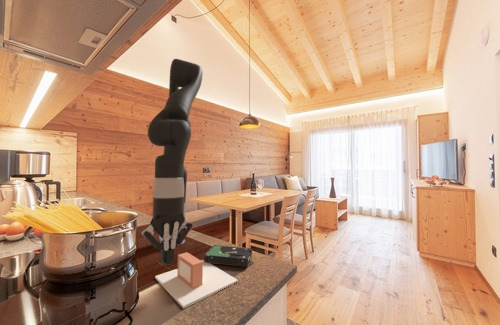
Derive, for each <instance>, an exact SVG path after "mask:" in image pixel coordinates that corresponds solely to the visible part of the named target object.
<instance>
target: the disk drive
mask: <svg viewBox="0 0 500 325" xmlns="http://www.w3.org/2000/svg"><path fill="white" fill-rule="evenodd" d="M252 255H253V248H250V247H239V246H228V245H227V246H226V245H217V244H216V245H215V244H214V245H213V246H212V247H211V248H209V251H207V252H206V253H204V256H203V260H204V262H206V263H210V264H216V265H217V264H218V265H226V266H227V265H228V266H238V267H248V265H249V263H250V260H251V258H252Z"/></svg>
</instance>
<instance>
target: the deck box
mask: <svg viewBox="0 0 500 325" xmlns="http://www.w3.org/2000/svg"><path fill="white" fill-rule="evenodd" d="M177 269H178V274H177V276H178V277H179V278H180V279H182V280H183V281H184V282H185V283H186V284H187V285H189V286H190V287H191V288H192V289H194V288H196V287H199V286H201V285H202V277H203V262H202V260H201V259H199V258H197V257H195V256H194V255H192V254H191V253H189V252H187V251H186V252H183V253H179V254H177Z"/></svg>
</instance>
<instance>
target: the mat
mask: <svg viewBox="0 0 500 325" xmlns="http://www.w3.org/2000/svg"><path fill="white" fill-rule="evenodd" d="M201 261H202V262H203V277H202V285H201V286H199V287H196V288H194V289H192V288H191V287H190V286H189V285H187V284H186V283H185V282H184V281H183V280H182V279H180V278H179V277H178V276H177V274H178V268H175V269H173V270H170V271H167V272H163V273H161V274H157V275H155V277H154V278H155V280H156V281H157V282H158V283H159V284H160V285H161V286H162V287H163V288H164V289H165V290H166V291H167V293H168V294H169V295H170V296H171V298H173V299H174V300H175V302H177V304H178V305H179V306H180V307H182V309H183V310H184V309H186V308H188V307H190V306H192V305H193V304H194V305H195V304H196V303H199V302H200V301H202V300H205V299H206V298H208V297H210V296H212V295H215V294H216V293H219V292H221V291H223V290H225V289H226V287H227V288H229V287H231V286H233V285H235V284H237V283H239V280H238V279H237V278H236V277H234V276H232V275H230V274H228V273H227V272H225V271H223V270H222V269H221V268H218V267H217V266H215V265H214V264H213V263H206V262H204V259H202V260H201ZM236 282H237V283H236ZM234 283H235V284H234ZM230 285H231V286H230ZM228 286H229V287H228ZM224 288H225V289H224ZM222 289H223V290H222ZM220 290H221V291H220ZM218 291H219V292H218Z"/></svg>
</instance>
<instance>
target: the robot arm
mask: <svg viewBox="0 0 500 325" xmlns="http://www.w3.org/2000/svg"><path fill="white" fill-rule="evenodd" d="M169 68H170V69H169V70H170V71H169V84H168V86H169V88H168V90H169V92H168V98H167V100H166V103H165V106H164V108H163V109H162V110H160V111H159V112H158V113H157V114H156V115H155V116H154V117H153V119H152V120H151V121H150V122H149V124H148V128H147V136H148V139H149V142H151V144H153V145H155V146H157V147H163V154H162V155H161V154H160V155H158V156H156V157H155V161H154V182H153V186H152V187H153V188H152V189H153V190H152V218H151V221H150V225H149V226H148V227H147V228H145V229H142V230H140V234H141V235H142V237H143V238H145V239H146V241H147V242H148V243H150V244H151V245H152V247H153V248H155V250H157V251H160V262H161V263H162V264H164V266H169V265H172V264H173V261H174V260H175V249H176V247H178V246H180V245H183V244H184V243H185V242H186V240H185V239H186V237H187V236H188V234H189V233H190V231H191V229H192V228H193V223H191V222H188V221H186V197H187V196H186V195H187V182H188V170H187V168H186V167H185V165H184V164H185V158H186V154H187V150H188V147H189V144H190V141H191V138H192V129H191V127H192V126H191V125H192V124H191V121H190V118H189V117H190V113H191V108H192V105H193V102H194V100H195V99H196V97H197V95H198V93H199V90H200V88H201V86H202V81H203V67H201V66H200V65H199V64H196V63H193V62H190V61H186V60H183V59H179V58H174V59H172V61H171V64H170V67H169ZM154 231H155V232H154ZM155 233H156V234H157V235H158V239H159V241H158V240H157V239H156V238H155V237H154V234H155Z"/></svg>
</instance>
